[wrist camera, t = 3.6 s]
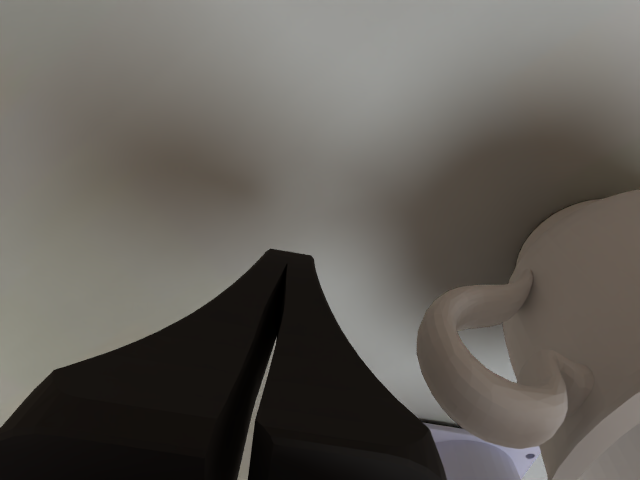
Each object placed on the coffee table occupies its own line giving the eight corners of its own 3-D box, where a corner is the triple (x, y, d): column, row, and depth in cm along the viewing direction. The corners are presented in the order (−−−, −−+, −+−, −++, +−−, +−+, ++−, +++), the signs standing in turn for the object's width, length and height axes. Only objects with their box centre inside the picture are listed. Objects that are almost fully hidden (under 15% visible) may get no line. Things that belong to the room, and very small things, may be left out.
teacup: (441, 59, 13) (641, 104, 4) (823, 159, 14) (1640, 365, 5) (350, 319, 19) (358, 567, 10) (626, 378, 20) (855, 653, 11)
